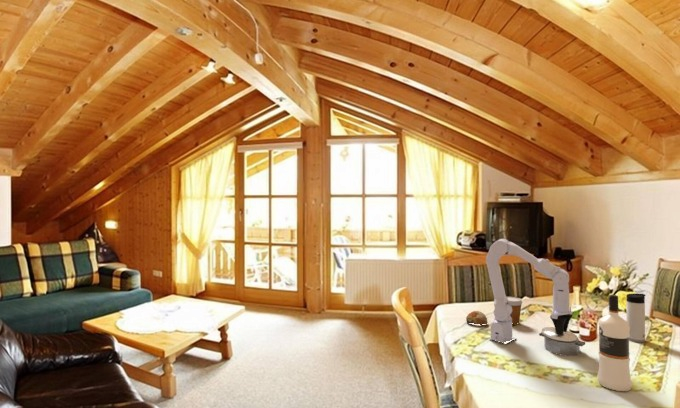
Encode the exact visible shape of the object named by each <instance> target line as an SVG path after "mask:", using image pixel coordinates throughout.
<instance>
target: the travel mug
mask: <svg viewBox="0 0 680 408" xmlns="http://www.w3.org/2000/svg"><path fill="white" fill-rule="evenodd" d="M645 297H646V294H644V293H636V292H635V293H628V294H626V299H625V301H626V306H625V307H626V321H627V322H628V324H629V326H630V331H629V334H630V336H629V342H634V343H641V344H642V343H645V342H646V301H645Z"/></svg>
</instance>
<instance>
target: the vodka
mask: <svg viewBox="0 0 680 408" xmlns="http://www.w3.org/2000/svg"><path fill="white" fill-rule="evenodd" d="M597 322H598V359H599V360H598V362H599V363H598V370H597V371H598V372H597V377H596V379H597V382H598V383H599V385H601V386H602V387H604V388H605V387H606V388H605V389H608V388H609V389H608V390H610V389H612V390H611V391H614V390H616V391H615V392H620V391H625V392H629V391H631V390H632V388H633V382H632V380H631V371H630V361H631V358H630V340H629V336H630V334H629V331H630V326H629V324H628V322H627V320H625V319H624V318H623V317H621V316H620V314H619V296H618V295H616V294H609V295H608V314H607V315H603V316H602V317H600V318H599V319H598V321H597Z"/></svg>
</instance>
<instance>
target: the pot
mask: <svg viewBox="0 0 680 408" xmlns="http://www.w3.org/2000/svg"><path fill="white" fill-rule="evenodd" d="M538 335H539V336H540V337H544V339H543V340H544V348H545V350H547V351H548V350H549V351H548V352H550V351H551V352H550V353H553V354H556V353H557V354H556V355H560V354H561V356H571V357H572V356H577V355H579V354H580V353H581V352H580V351H581V349H580V347H584V346H585V345H586V342H585V341H583V340H580V339H579V337H578V336H577V340H576V341H575V342H561V341H557V340H553V339H551V338H548V337H546V336H545V335H543V334H542V331H541V332H540V333H539V334H538Z"/></svg>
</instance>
